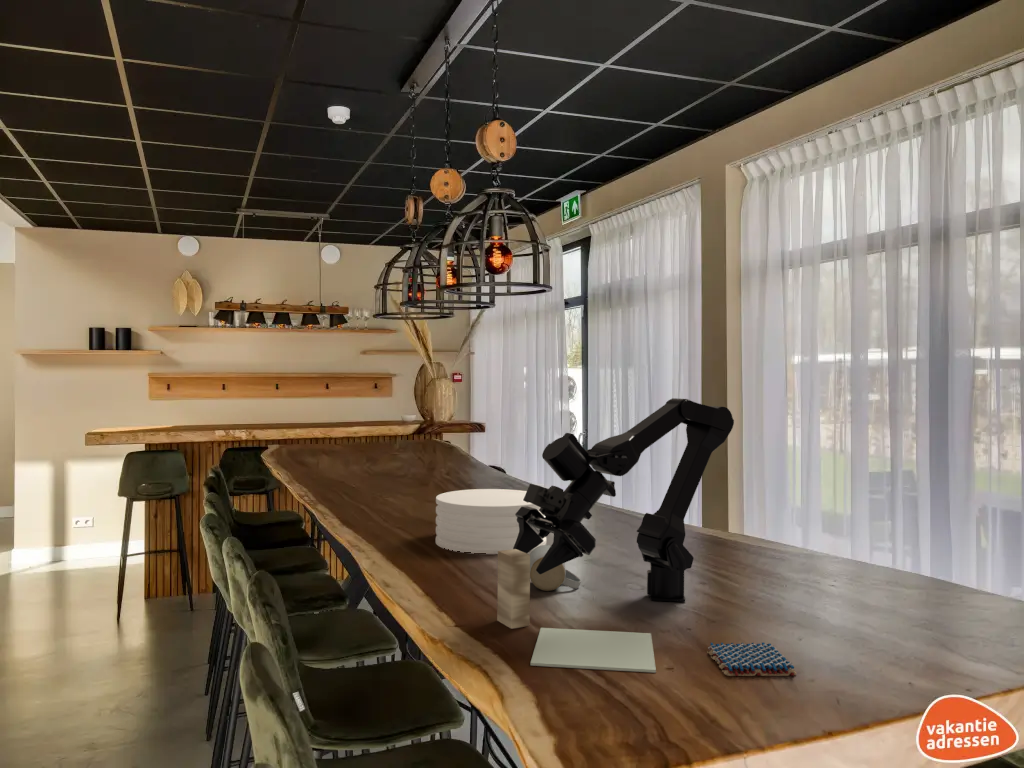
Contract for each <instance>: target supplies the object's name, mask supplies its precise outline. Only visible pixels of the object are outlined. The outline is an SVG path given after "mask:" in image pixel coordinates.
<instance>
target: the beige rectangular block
mask: <svg viewBox="0 0 1024 768" xmlns="http://www.w3.org/2000/svg"><path fill="white" fill-rule="evenodd" d="M530 600H531V580H530V553H524V552H522V551H519V550H517V549H511V550H502V551H498V554H497V611H496V612H497V615H496V616H497V618H496V620H497V622H499V623H501V624H502V625H504V626H506V627H508V628H509V629H519V628H523V627H525V628H526V627H530V621H531V619H530V618H531V617H530V616H531V613H530V612H531V610H530V609H531V607H530V606H531V605H530V604H531V603H530V602H531V601H530Z"/></svg>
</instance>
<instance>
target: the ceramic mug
mask: <svg viewBox="0 0 1024 768" xmlns="http://www.w3.org/2000/svg"><path fill="white" fill-rule="evenodd" d="M550 547H551V545H550V544H546V545H541V546H538V547H536V548H535V549H533V550H532V551H530V552H529V555H530V583H532V585H534V586H535V588H537V589H539V590H541V591H543V592H549V591H550V592H551V591H555V590H556V589H558V588H559V587H561V585H563V586H565V587H568V588H569V589H570V588H571V589H574V590H577V589H579V587H580V586H581V583H582V581H581V578H580V577H579V576H577V575H576V574H575V573H573V572H572V571H570V570H567V569H566V562H565V563H563V564H561V565H559V566H557V567H555V568H553V569H551V570H549V571H547V572H545V573H543V574H538V573H537V572H536V569H537V567H538V565H539V563H540V562H541V560H542V559H543V557H544V556H545V554H546V553H547V551H548V550H549V548H550Z"/></svg>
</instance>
